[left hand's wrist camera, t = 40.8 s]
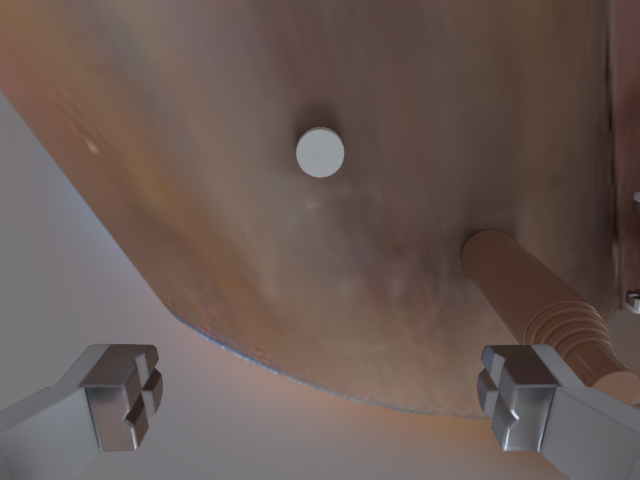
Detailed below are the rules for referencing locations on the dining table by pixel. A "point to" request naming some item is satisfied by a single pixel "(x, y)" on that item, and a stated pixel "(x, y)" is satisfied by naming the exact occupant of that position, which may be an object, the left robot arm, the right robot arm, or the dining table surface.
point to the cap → (320, 152)
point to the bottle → (547, 312)
